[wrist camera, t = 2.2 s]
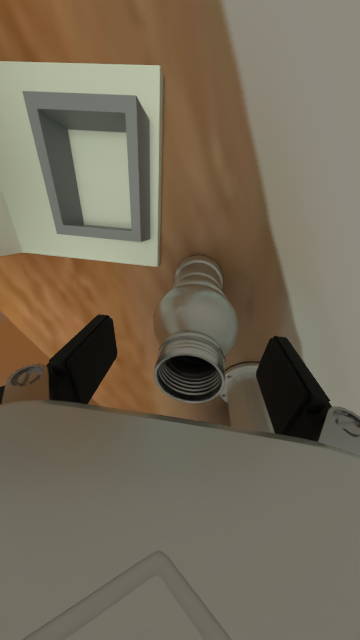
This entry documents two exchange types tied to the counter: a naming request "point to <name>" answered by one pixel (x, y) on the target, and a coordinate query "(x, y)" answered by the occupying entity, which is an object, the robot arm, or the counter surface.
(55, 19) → the counter surface
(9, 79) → the socket stand
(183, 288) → the grey tall bottle shape
